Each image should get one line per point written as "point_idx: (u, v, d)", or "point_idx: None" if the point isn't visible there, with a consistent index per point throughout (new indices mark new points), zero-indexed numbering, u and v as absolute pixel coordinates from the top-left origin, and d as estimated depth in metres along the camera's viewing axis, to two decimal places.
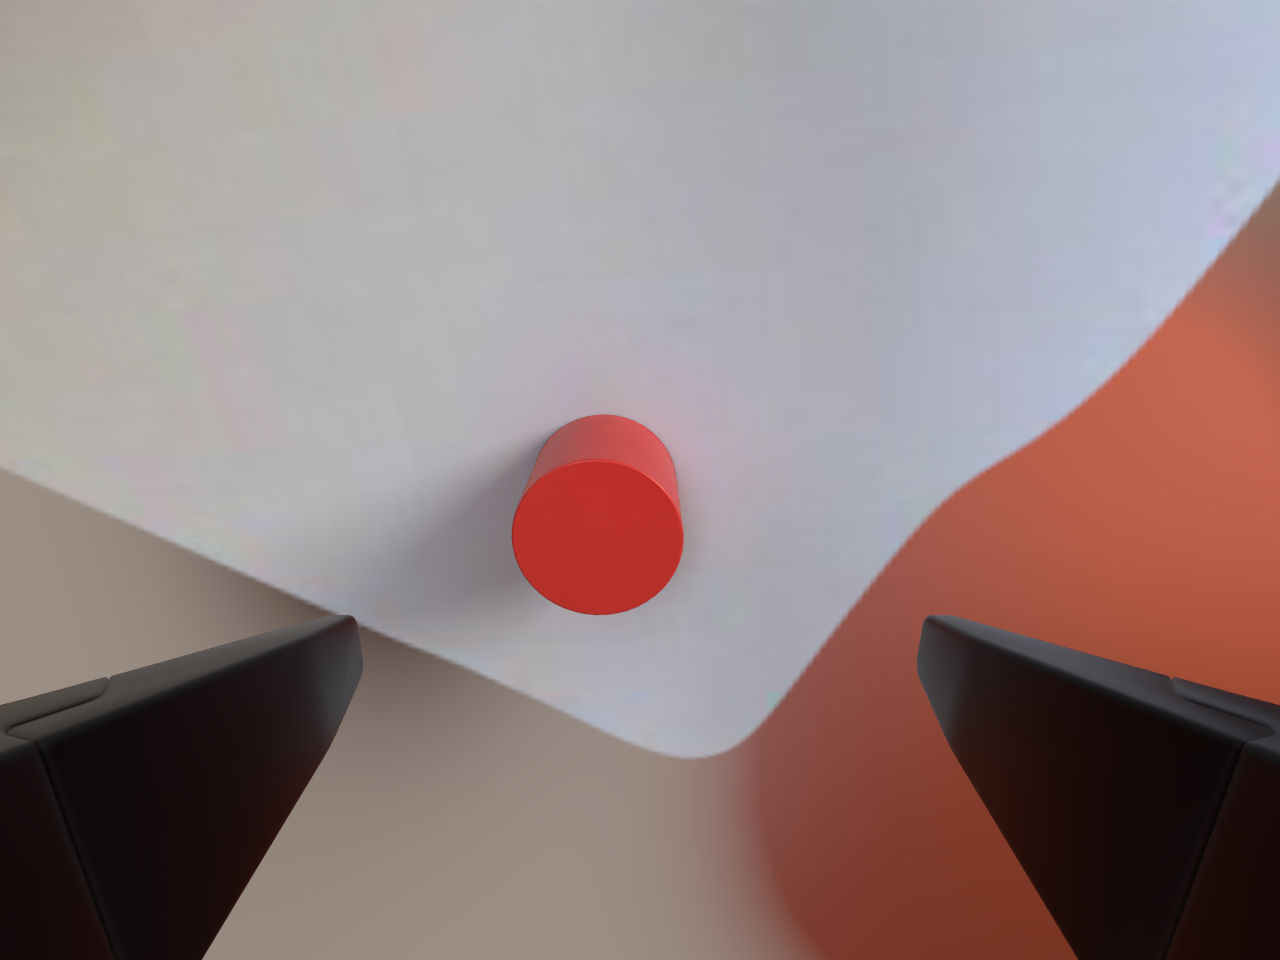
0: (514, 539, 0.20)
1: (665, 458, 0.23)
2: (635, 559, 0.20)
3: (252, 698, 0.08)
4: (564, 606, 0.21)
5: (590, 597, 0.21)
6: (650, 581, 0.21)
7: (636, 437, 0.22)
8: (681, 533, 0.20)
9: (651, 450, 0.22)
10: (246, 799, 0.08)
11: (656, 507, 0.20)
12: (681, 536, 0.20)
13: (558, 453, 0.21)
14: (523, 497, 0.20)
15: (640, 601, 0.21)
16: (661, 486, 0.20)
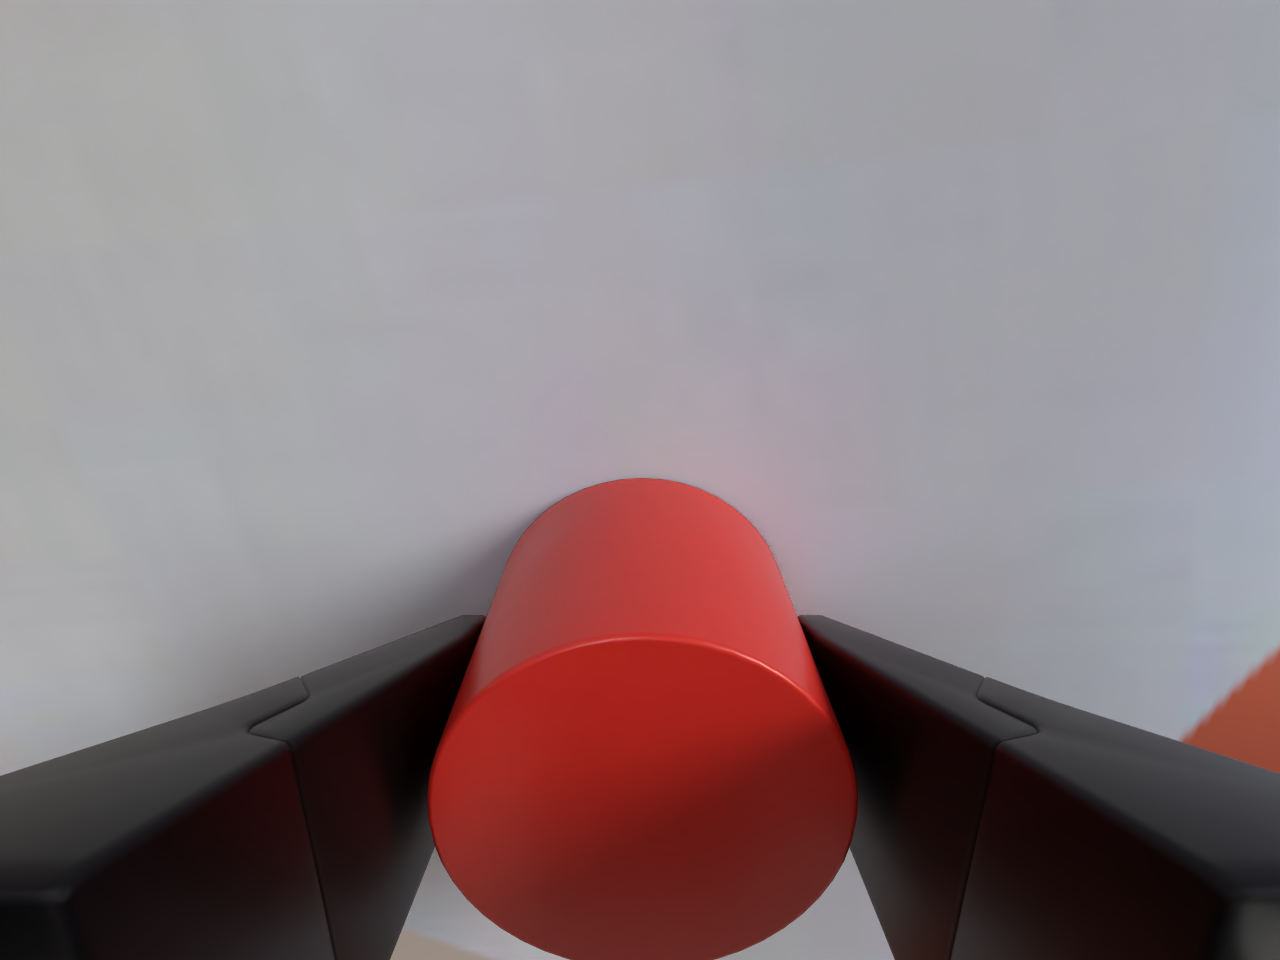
0: (435, 824, 0.08)
1: (774, 573, 0.11)
2: (737, 858, 0.08)
3: (426, 698, 0.08)
4: (566, 956, 0.09)
5: (628, 936, 0.09)
6: (772, 902, 0.08)
7: (715, 536, 0.10)
8: (855, 799, 0.08)
9: (751, 566, 0.10)
10: (420, 799, 0.08)
11: (793, 742, 0.08)
12: (854, 805, 0.08)
13: (538, 596, 0.09)
14: (449, 730, 0.08)
15: (746, 942, 0.09)
16: (807, 693, 0.08)
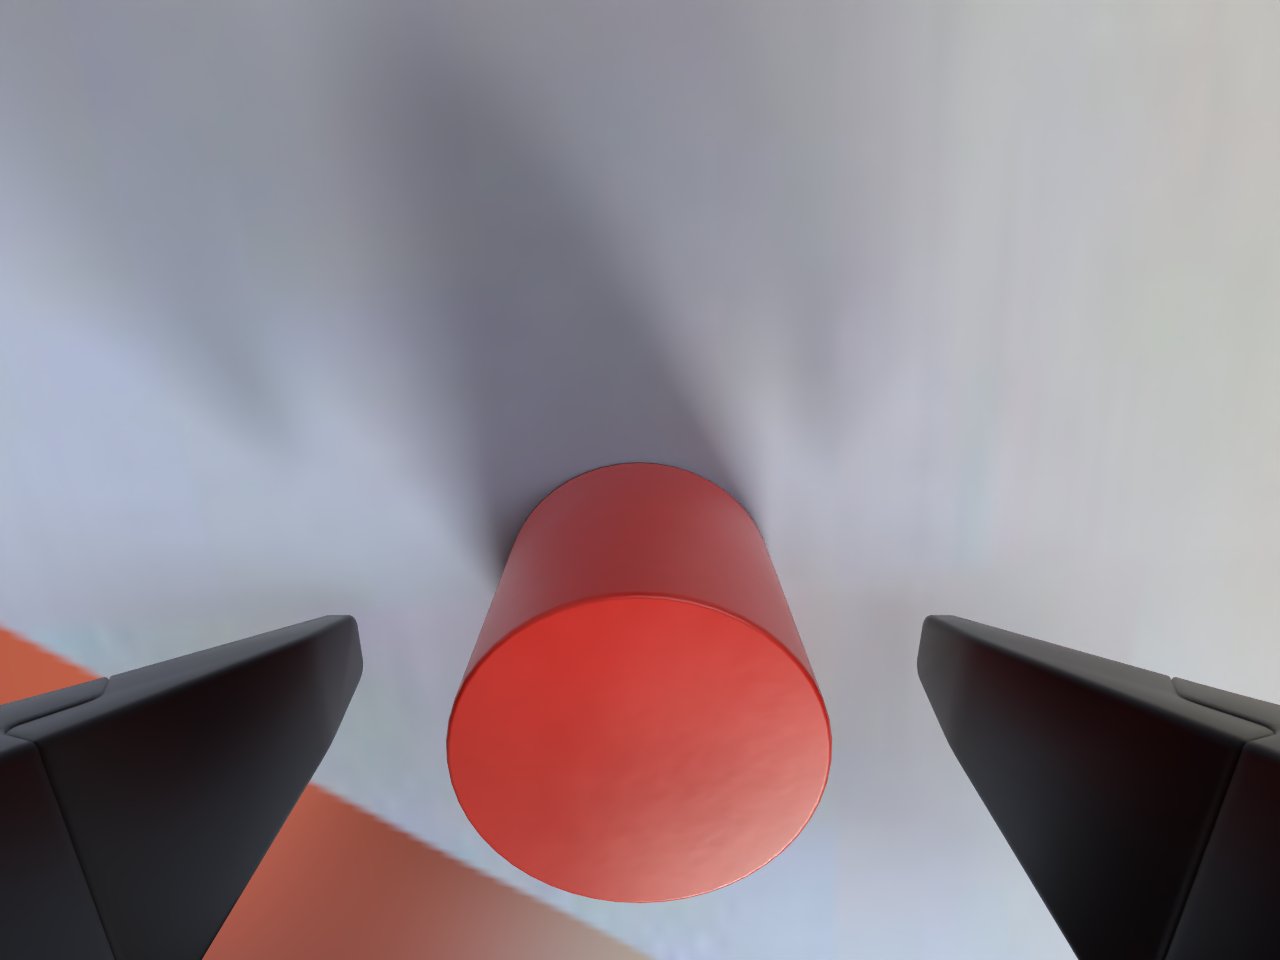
0: (453, 766, 0.09)
1: (761, 548, 0.11)
2: (724, 797, 0.09)
3: (252, 698, 0.08)
4: (570, 890, 0.10)
5: (626, 872, 0.10)
6: (756, 838, 0.09)
7: (706, 513, 0.11)
8: (829, 743, 0.09)
9: (738, 540, 0.11)
10: (246, 799, 0.08)
11: (773, 692, 0.09)
12: (828, 749, 0.09)
13: (545, 564, 0.10)
14: (467, 679, 0.09)
15: (733, 877, 0.10)
16: (785, 646, 0.08)
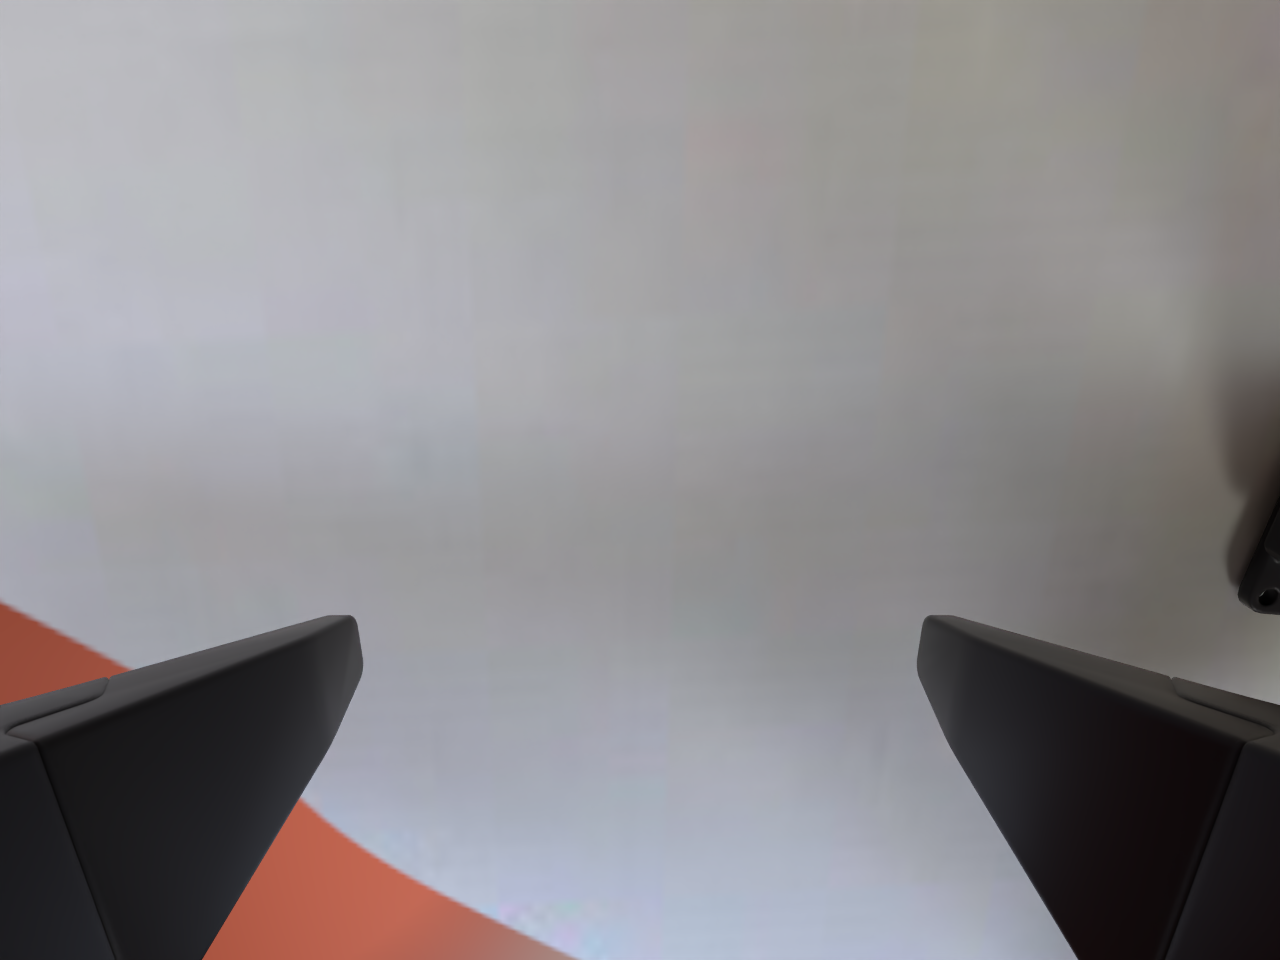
0: None
1: None
2: None
3: (252, 698, 0.08)
4: None
5: None
6: None
7: None
8: None
9: None
10: (246, 799, 0.08)
11: None
12: None
13: None
14: None
15: None
16: None
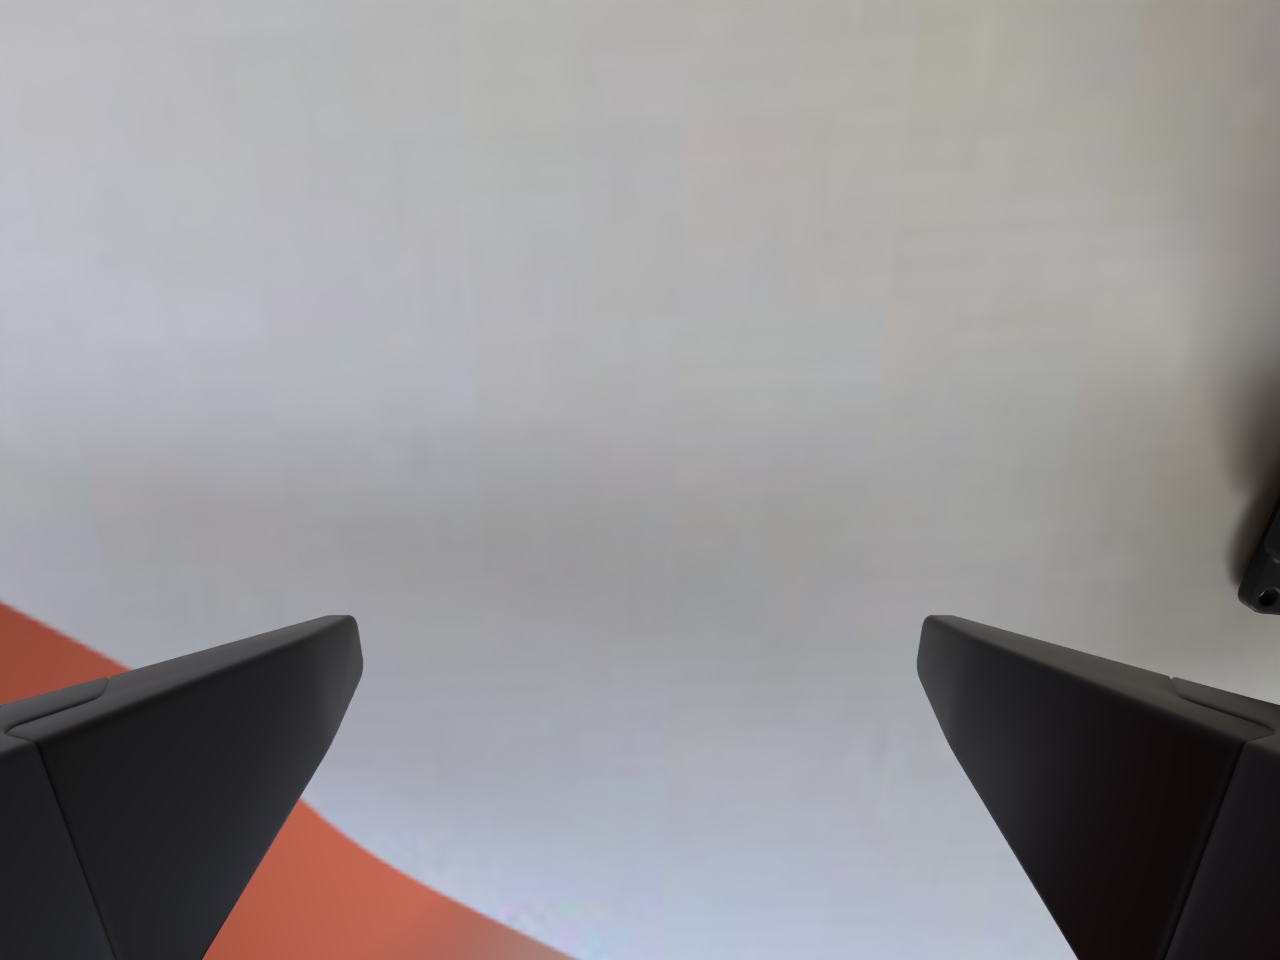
0: None
1: None
2: None
3: (252, 698, 0.08)
4: None
5: None
6: None
7: None
8: None
9: None
10: (246, 799, 0.08)
11: None
12: None
13: None
14: None
15: None
16: None
